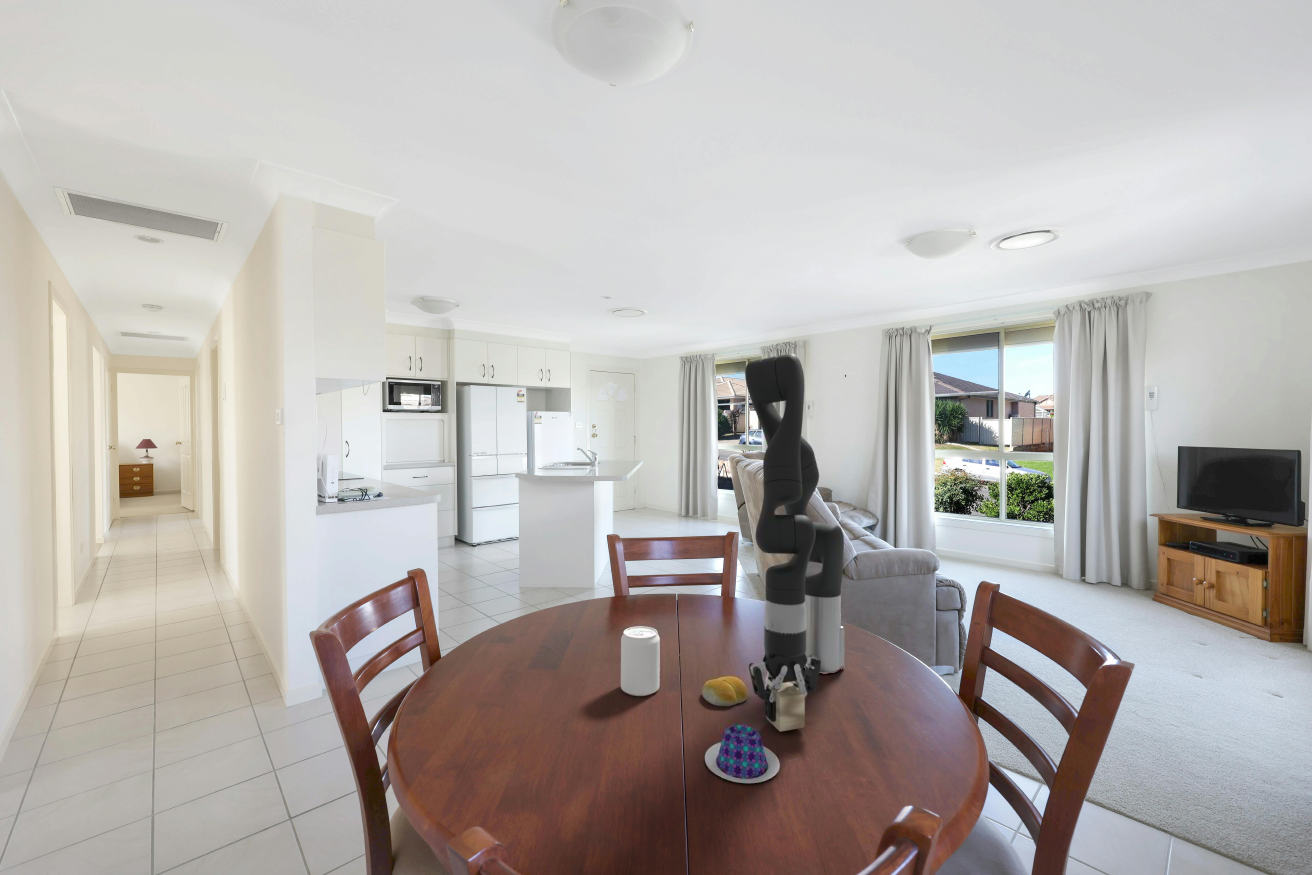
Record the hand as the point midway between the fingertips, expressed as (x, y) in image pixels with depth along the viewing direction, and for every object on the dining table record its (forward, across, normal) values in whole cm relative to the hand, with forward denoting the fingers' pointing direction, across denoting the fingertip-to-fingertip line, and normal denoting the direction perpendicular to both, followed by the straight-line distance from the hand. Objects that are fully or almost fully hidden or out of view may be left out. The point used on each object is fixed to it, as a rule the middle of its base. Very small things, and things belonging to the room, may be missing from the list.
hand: (785, 716), depth 101 cm
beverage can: (+2, +21, -22) cm, 31 cm away
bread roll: (+2, +6, -14) cm, 15 cm away
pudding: (+2, +12, +8) cm, 15 cm away
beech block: (+1, 0, 0) cm, 1 cm away
